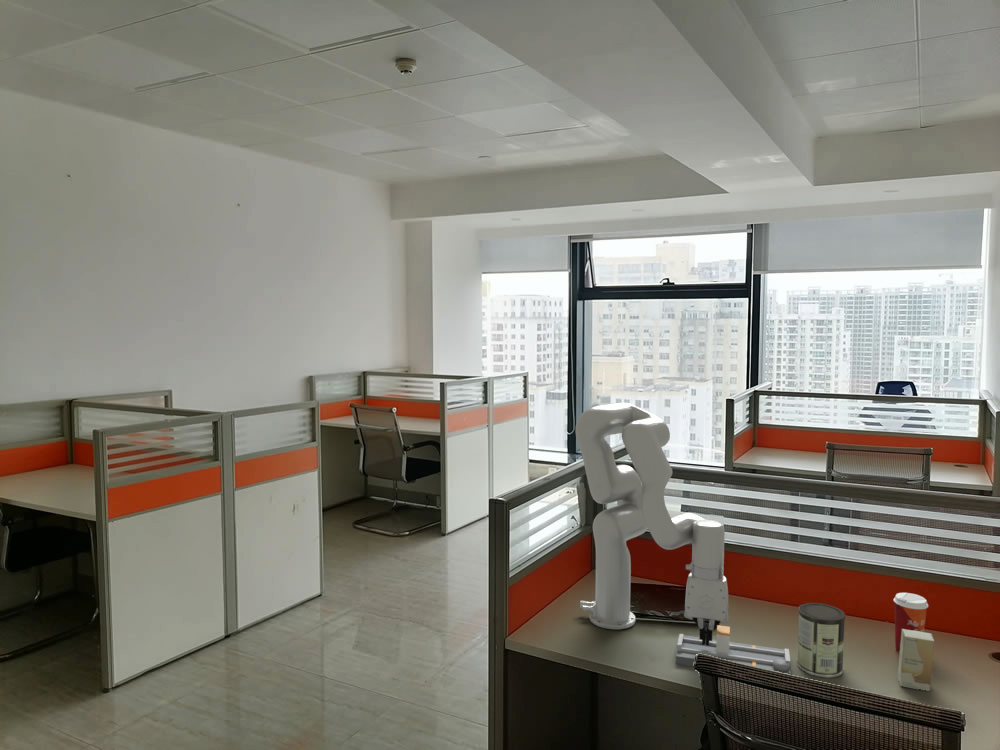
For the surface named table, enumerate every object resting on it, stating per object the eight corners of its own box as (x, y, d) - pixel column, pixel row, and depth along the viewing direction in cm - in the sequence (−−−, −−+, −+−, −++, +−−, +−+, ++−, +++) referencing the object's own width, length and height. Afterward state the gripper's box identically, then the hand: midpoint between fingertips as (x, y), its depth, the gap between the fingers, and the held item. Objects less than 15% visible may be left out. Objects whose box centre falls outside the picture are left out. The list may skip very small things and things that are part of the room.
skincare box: (899, 687, 168) (902, 635, 167) (897, 677, 172) (899, 627, 171) (931, 692, 166) (935, 640, 165) (928, 682, 170) (931, 632, 169)
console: (675, 663, 179) (676, 649, 179) (680, 642, 190) (680, 628, 190) (790, 681, 171) (790, 666, 170) (787, 657, 182) (788, 643, 182)
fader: (716, 653, 180) (716, 632, 179) (716, 646, 184) (717, 625, 183) (728, 655, 179) (729, 633, 178) (729, 648, 183) (729, 626, 182)
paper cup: (912, 661, 180) (916, 606, 179) (884, 648, 187) (886, 595, 186) (932, 654, 184) (935, 600, 183) (903, 641, 191) (906, 589, 189)
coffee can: (819, 654, 184) (822, 599, 183) (852, 673, 175) (855, 616, 173) (786, 661, 181) (789, 605, 179) (818, 681, 171) (821, 623, 170)
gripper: (674, 572, 179) (673, 644, 181) (739, 580, 174) (737, 654, 176) (677, 562, 186) (676, 632, 188) (739, 569, 182) (737, 640, 183)
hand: (705, 642), depth 182 cm, fingers closed
